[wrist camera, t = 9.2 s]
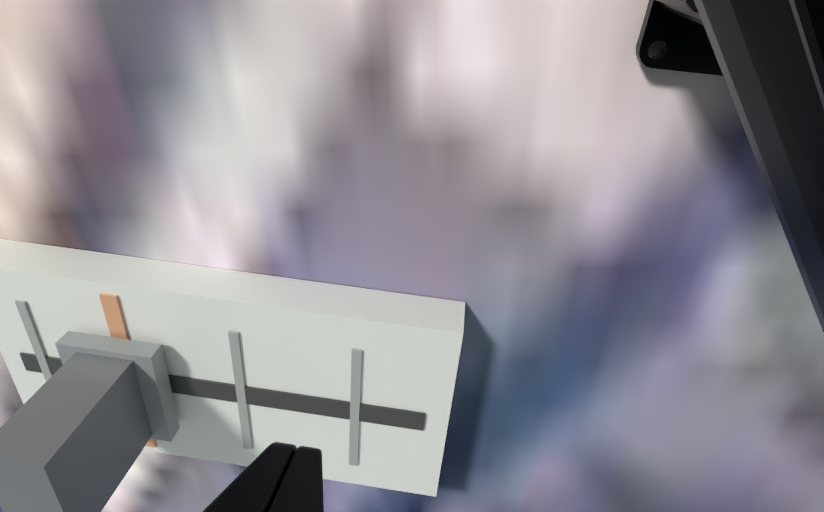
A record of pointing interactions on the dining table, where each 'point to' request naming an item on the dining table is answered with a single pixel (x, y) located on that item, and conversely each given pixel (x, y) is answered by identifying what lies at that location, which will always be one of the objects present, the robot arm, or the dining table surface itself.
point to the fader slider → (85, 425)
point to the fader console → (253, 357)
